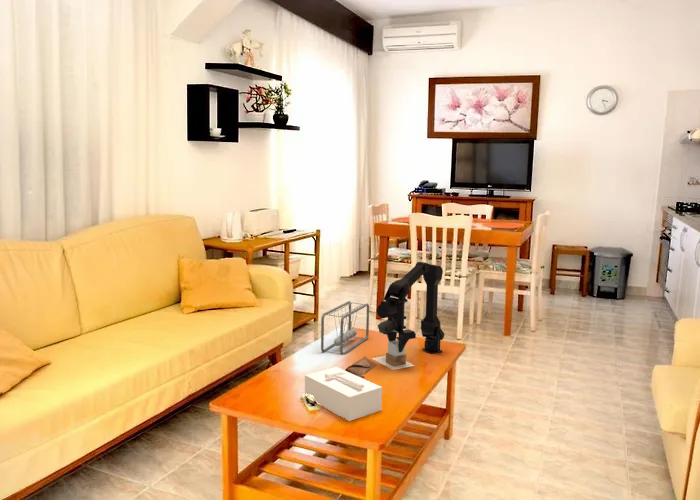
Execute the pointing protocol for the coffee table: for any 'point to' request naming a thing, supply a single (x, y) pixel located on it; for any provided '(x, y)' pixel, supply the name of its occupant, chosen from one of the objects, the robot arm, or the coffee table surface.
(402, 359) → the base block
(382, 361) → the plate
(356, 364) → the sunglasses case
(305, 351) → the coffee table surface
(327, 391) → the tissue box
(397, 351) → the top block
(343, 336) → the newton's cradle
